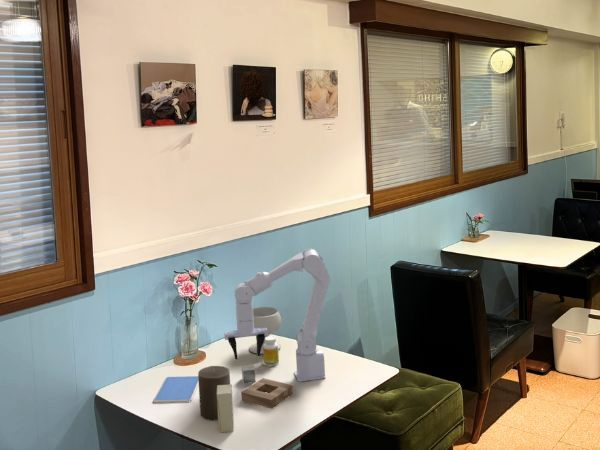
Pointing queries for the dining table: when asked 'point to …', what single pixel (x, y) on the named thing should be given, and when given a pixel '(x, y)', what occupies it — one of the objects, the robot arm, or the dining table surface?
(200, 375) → the pillar candle
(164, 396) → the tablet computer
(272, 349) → the supplement bottle
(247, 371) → the peg
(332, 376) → the dining table surface
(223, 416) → the skincare box
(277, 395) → the holder
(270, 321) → the chalice
